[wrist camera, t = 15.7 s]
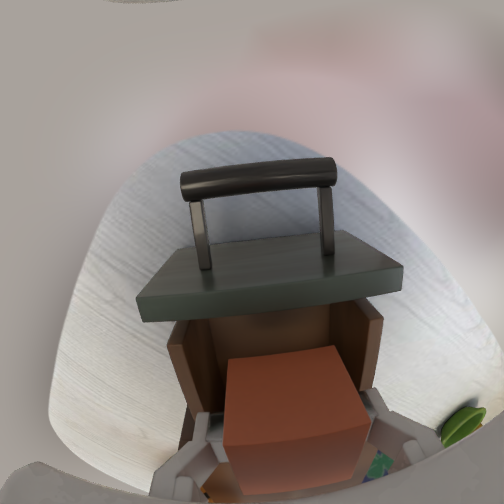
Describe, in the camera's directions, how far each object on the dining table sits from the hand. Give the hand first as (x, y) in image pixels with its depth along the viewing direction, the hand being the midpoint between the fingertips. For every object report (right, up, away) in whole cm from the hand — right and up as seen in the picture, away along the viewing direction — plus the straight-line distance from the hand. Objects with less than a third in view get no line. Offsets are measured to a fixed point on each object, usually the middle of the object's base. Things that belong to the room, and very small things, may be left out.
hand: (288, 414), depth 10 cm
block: (0, 0, +2) cm, 2 cm away
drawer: (0, +3, +9) cm, 10 cm away
